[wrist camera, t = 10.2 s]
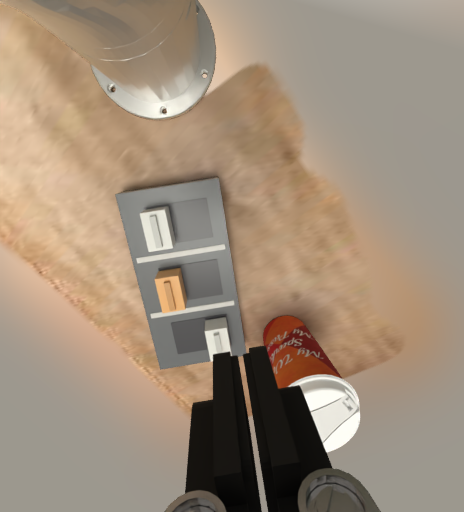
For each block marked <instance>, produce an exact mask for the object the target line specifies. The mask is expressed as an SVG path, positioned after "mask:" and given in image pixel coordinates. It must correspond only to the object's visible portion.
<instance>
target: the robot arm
mask: <svg viewBox="0 0 464 512" xmlns="http://www.w3.org/2000/svg"><path fill="white" fill-rule="evenodd" d="M0 4H3V5H6V6H8V7H11V8H14V9H16V10H18V11H20V12H22V13H24V14H25V15H27V16H28V17H30V18H32V19H33V20H35V21H36V22H37V23H39V24H40V25H41V26H43V27H44V28H45V29H47V30H48V31H49V32H51V33H52V34H53V35H54V36H56V37H57V38H58V39H60V40H61V41H62V42H63V43H65V44H66V45H67V46H68V47H70V48H71V49H72V50H74V51H75V52H76V53H77V54H79V55H80V56H81V57H82V58H84V59H85V60H86V61H87V62H89V63H90V65H91V68H92V71H93V74H94V75H95V77H96V79H97V81H98V83H99V85H100V86H101V88H102V89H103V90H104V92H105V93H106V94H107V95H108V97H109V98H110V99H112V100H113V101H114V102H115V103H116V104H117V105H118V106H120V107H121V108H123V109H124V110H126V111H127V112H129V113H131V114H133V115H135V116H138V117H141V118H145V119H150V120H166V119H172V118H175V117H178V116H181V115H182V114H184V113H186V112H188V111H189V110H191V109H192V108H193V107H194V106H195V105H196V104H197V103H199V101H200V100H201V99H202V97H203V96H204V95H205V93H206V91H207V89H208V87H209V85H210V83H211V81H212V77H213V74H214V70H215V61H216V45H215V39H214V33H213V30H212V26H211V23H210V20H209V18H208V16H207V14H206V12H205V10H204V9H203V7H202V6H201V4H200V3H199V2H198V0H0ZM197 13H198V14H197ZM204 73H205V74H207V78H203V77H202V75H203V74H204ZM113 87H115V89H116V90H115V92H112V88H113ZM164 109H166V110H167V113H166V114H163V110H164ZM243 358H244V364H245V370H246V376H247V383H248V389H249V395H250V401H251V408H252V414H253V420H254V426H255V432H256V438H257V445H258V451H259V457H260V464H261V470H262V476H263V482H264V489H265V495H266V501H267V507H268V512H381V511H380V510H379V508H378V507H377V505H376V503H375V502H374V500H373V499H372V497H371V496H370V494H369V492H368V491H367V490H366V488H365V487H364V486H363V485H362V484H361V482H360V481H359V480H357V479H356V478H355V477H353V476H352V475H351V474H349V473H346V472H344V471H341V470H339V469H333V468H332V466H331V463H330V461H329V458H328V456H327V453H326V450H325V448H324V445H323V443H322V440H321V438H320V435H319V432H318V430H317V427H316V425H315V422H314V420H313V417H312V415H311V412H310V409H309V407H308V404H307V402H306V399H305V397H304V394H303V392H302V389H301V387H300V386H299V385H297V386H291V387H285V388H279V389H278V386H277V382H276V379H275V375H274V372H273V368H272V365H271V362H270V358H269V355H268V351H267V348H266V346H259V347H253V348H249V353H246V354H243ZM165 512H262V511H261V504H260V497H259V490H258V482H257V475H256V468H255V461H254V454H253V447H252V440H251V433H250V427H249V420H248V414H247V408H246V403H245V397H244V391H243V385H242V379H241V373H240V367H239V361H238V355H234V356H231V353H230V351H229V352H223V353H217V354H213V400H208V401H202V402H196V403H193V405H192V414H191V427H190V439H189V452H188V465H187V478H186V490H185V494H184V495H182V496H180V497H178V498H177V499H176V500H175V501H173V502H172V503H171V504H170V505H169V506H168V508H167V509H166V511H165Z"/></svg>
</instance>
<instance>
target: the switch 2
mask: <svg viewBox="0 0 464 512" xmlns="http://www.w3.org/2000/svg"><path fill="white" fill-rule="evenodd" d="M155 284H156V288H157V292H158V296H159V300H160V304H161V309H162V313H168V312H174V311H180V310H185V309H186V304H187V297H186V292H185V287H184V283H183V278H182V273H181V268H176V269H170V270H164V271H158V273H157V275H156V277H155Z"/></svg>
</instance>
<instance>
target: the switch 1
mask: <svg viewBox="0 0 464 512" xmlns="http://www.w3.org/2000/svg"><path fill="white" fill-rule="evenodd" d="M140 217H141V222H142V226H143V230H144V234H145V238H146V243H147V247H148V251H149V252H153V251H159V250H165V249H172V248H173V247H174V245H175V243H176V241H175V236H174V231H173V227H172V222H171V217H170V212H169V208H168V206H165V207H159V208H153V209H146V210H144V211H142V212H141V213H140Z"/></svg>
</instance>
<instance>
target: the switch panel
mask: <svg viewBox="0 0 464 512" xmlns="http://www.w3.org/2000/svg"><path fill="white" fill-rule="evenodd" d="M115 195H116V199H117V203H118V207H119V211H120V215H121V219H122V222H123V226H124V230H125V234H126V238H127V242H128V246H129V250H130V254H131V257H132V261H133V265H134V269H135V273H136V277H137V281H138V285H139V288H140V292H141V296H142V300H143V304H144V308H145V312H146V316H147V320H148V323H149V327H150V331H151V335H152V339H153V343H154V347H155V351H156V354H157V358H158V362H159V366H160V370H161V369H167V368H173V367H179V366H185V365H191V364H197V363H203V362H209V361H210V356H209V351H208V346H207V341H206V336H205V320H211V319H217V318H223V317H226V321H227V327H228V332H229V338H230V344H231V352H232V356H234V355H238V357H239V356H243V354H246V348H245V341H244V335H243V329H242V322H241V316H240V310H239V303H238V297H237V291H236V285H235V278H234V272H233V266H232V259H231V253H230V247H229V240H228V234H227V228H226V221H225V215H224V209H223V202H222V196H221V190H220V183H219V178H218V177H213V178H206V179H200V180H194V181H187V182H181V183H175V184H168V185H162V186H156V187H149V188H143V189H137V190H130V191H124V192H121V193H118V194H115ZM165 206H168V208H169V212H170V217H171V222H172V227H173V231H174V236H175V241H176V243H175V245H174V247H173V248H172V249H165V250H159V251H153V252H149V251H148V247H147V243H146V238H145V234H144V230H143V226H142V222H141V217H140V213H141V212H142V211H144V210H146V209H153V208H159V207H165ZM176 268H181V273H182V278H183V283H184V287H185V292H186V297H187V304H186V309H185V310H180V311H174V312H168V313H162V309H161V304H160V300H159V296H158V292H157V288H156V284H155V277H156V275H157V273H158V271H164V270H170V269H176Z"/></svg>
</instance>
